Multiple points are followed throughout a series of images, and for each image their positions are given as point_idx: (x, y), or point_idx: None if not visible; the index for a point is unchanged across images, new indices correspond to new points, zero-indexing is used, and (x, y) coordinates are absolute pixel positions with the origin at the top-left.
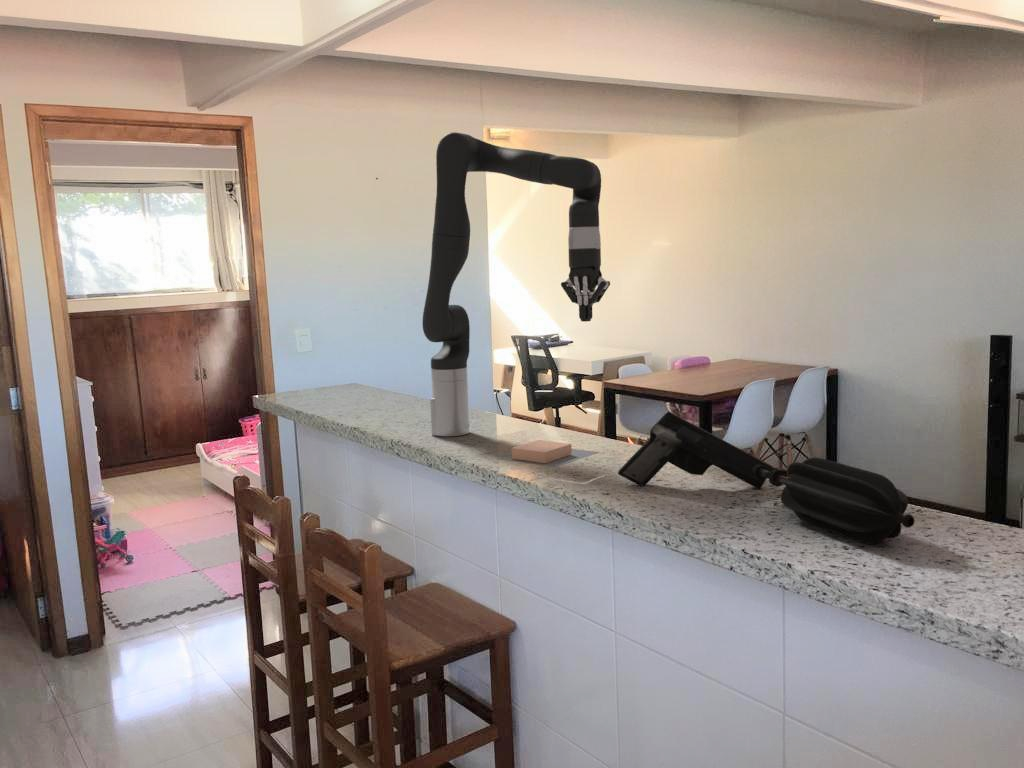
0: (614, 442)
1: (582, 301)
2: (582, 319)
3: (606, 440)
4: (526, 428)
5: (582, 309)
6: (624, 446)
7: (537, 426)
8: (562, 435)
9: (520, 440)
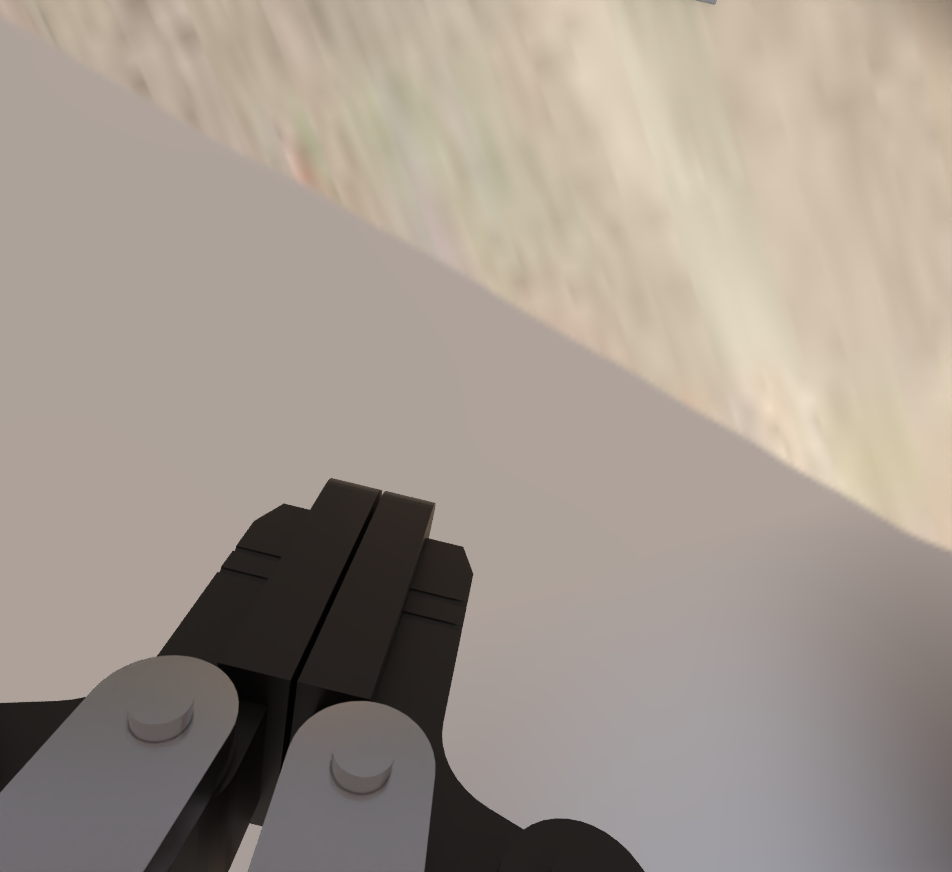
0: (393, 220)
1: (278, 805)
2: (396, 501)
3: (444, 253)
4: (917, 422)
5: (337, 620)
6: (315, 145)
7: (870, 476)
8: (685, 308)
9: (878, 121)
